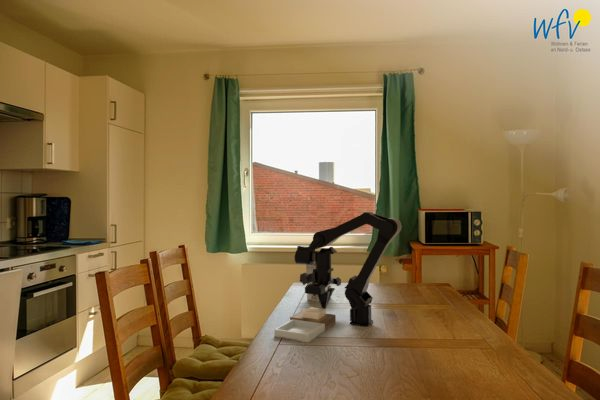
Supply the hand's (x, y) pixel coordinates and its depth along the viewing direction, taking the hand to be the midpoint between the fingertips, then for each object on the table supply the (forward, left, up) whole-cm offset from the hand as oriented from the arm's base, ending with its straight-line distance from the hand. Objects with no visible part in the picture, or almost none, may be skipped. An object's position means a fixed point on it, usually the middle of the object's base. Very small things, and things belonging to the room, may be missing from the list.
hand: (323, 308), depth 151 cm
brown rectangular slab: (+1, +8, -4) cm, 9 cm away
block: (0, +8, 0) cm, 8 cm away
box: (0, +19, -4) cm, 19 cm away
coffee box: (+14, -25, -4) cm, 29 cm away
